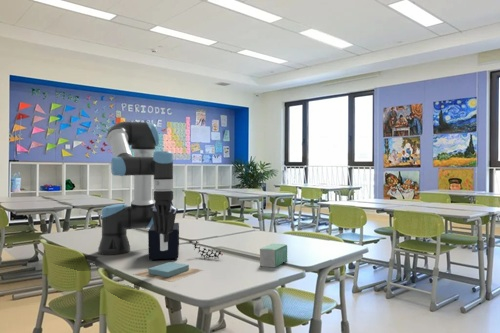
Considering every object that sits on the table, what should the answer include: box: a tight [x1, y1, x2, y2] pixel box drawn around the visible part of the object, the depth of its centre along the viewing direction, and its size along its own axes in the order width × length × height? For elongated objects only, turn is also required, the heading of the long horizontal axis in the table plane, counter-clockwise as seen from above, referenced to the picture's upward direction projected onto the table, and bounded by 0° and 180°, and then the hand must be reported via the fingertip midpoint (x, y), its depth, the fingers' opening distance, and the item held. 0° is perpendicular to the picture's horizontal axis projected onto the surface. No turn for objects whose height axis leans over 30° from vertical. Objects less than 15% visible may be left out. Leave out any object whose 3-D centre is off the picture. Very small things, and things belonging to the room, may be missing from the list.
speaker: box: [147, 222, 180, 261], centre depth 180 cm, size 22×13×15 cm, turn 9°
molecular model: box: [192, 239, 224, 260], centre depth 176 cm, size 6×15×8 cm, turn 70°
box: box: [259, 243, 288, 268], centre depth 166 cm, size 7×14×8 cm, turn 153°
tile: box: [147, 261, 190, 277], centre depth 151 cm, size 2×12×10 cm
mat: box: [133, 267, 204, 283], centre depth 151 cm, size 20×18×1 cm
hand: (164, 250), depth 152 cm, fingers closed
